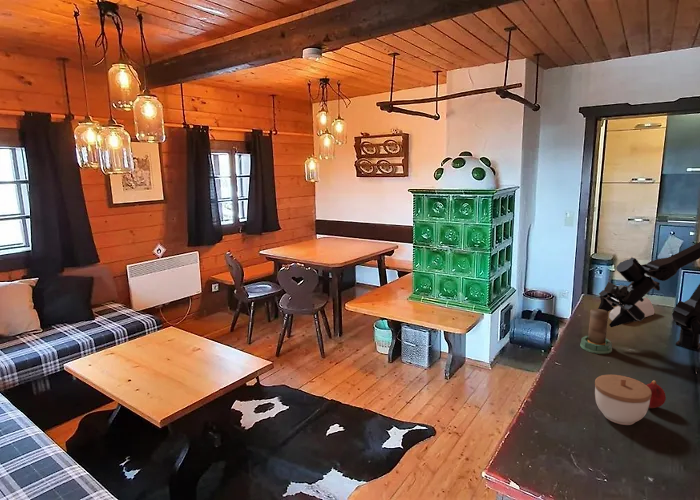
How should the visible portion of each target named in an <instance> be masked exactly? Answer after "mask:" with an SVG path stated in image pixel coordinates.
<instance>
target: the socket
mask: <svg viewBox="0 0 700 500" xmlns="http://www.w3.org/2000/svg"><path fill="white" fill-rule="evenodd" d="M579 345H580V348H581V349H582V350H584V351H586V352H589V353H591V354H597V355H598V354H599V355H608V354H611V353H612V352H613V347H612V346H613V342H612V341H611V340H609V339H608V338H606V344H605V345H596V344H592V343H589V342H588V335H584V336H583V337H581V341H580V344H579Z"/></svg>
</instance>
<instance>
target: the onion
mask: <svg viewBox="0 0 700 500" xmlns="http://www.w3.org/2000/svg"><path fill="white" fill-rule="evenodd" d="M646 385H647V386H648V387H649V388H650V390H651V392H652V395H651V399H650V404H649V408H648V409H655V408H659V407H661V406H663V405H664V404H665V402H666V392H665V391H664V389H663V388H662V387H661V386H660V385H658V383H657V381H656V380H655V379H654V380H652V381H651V382H650V383H647V384H646Z"/></svg>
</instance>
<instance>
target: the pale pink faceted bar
mask: <svg viewBox="0 0 700 500" xmlns="http://www.w3.org/2000/svg"><path fill="white" fill-rule="evenodd" d="M643 299H644V300H643V301H642V302H641V301H638V302H637V303H636V304H635V305H636V306H637V307H638V308H639V309H640V310H641V311H642V312H643V313H644V314H645V318H646V317H651V316H652V315H655V309H654V306H653V304H652V301H651V299H650V298H648V297H643ZM623 306H624V305H623ZM620 309H621V307H620V306H618V305H617V306H614V309H612V310H611V311H609V312H608V318H609V320H610V321H611V322H612V321H613V320H614V319H615V318H616V317H617V315H618V314H619V313H620ZM636 320H637V319H636ZM637 321H638V320H637Z"/></svg>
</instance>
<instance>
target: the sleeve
mask: <svg viewBox="0 0 700 500" xmlns="http://www.w3.org/2000/svg"><path fill="white" fill-rule="evenodd" d="M608 318H609V312H608V311H606V310H602V309H598V308H591V309H590V311H589V325H588V332H587V333H588V335H587V336H588V342H589V343H592V344H596V345H605V344H606V339H607V330H608V322H609V321H608V320H609V319H608Z"/></svg>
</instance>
